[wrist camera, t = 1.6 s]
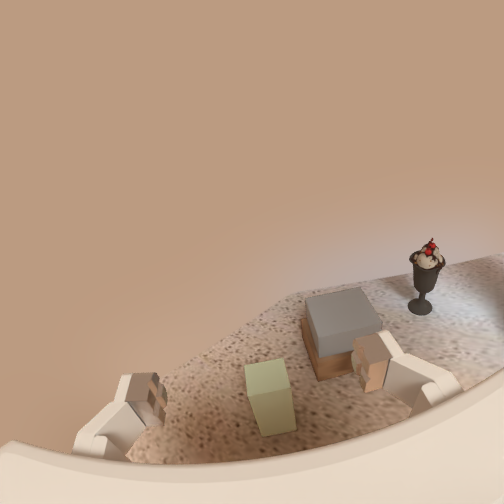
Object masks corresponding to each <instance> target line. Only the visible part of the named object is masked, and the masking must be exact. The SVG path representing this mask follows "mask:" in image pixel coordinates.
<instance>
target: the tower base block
mask: <svg viewBox="0 0 504 504" xmlns="http://www.w3.org/2000/svg"><path fill="white" fill-rule="evenodd" d="M301 326H302V336H303V340H304V343H305V346H306V349H307V351H308V354H309V357H310V360H311V363H312V366H313V368H314V371H315V374H316V377H317V380H318V382H319V381H323V380H326V379H330V378H334V377H337V376H341V375H344V374H348V373H351V372H354V369H353V366H352V360H351V356H352V352H353V351H354V350H352V351H348V352H344V353H339V354H335V355H331V356H326V357H322V358H319V356H318V353H317V350H316V346H315V343H314V340H313V337H312V333H311V330H310V327H309V324H308V321H307V318H304V319H301Z"/></svg>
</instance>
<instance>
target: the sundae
mask: <svg viewBox="0 0 504 504" xmlns="http://www.w3.org/2000/svg"><path fill="white" fill-rule="evenodd" d="M431 241H433V238H432V239H431ZM431 241H429V243H428V244H426V245H424V246H423V247H422V249H421V251H416V252H414V253H413V254H412V255H411V256H410V258H409V260H410V262H411V263H413V270H414V271H413V280H414V287H415V288H416V290H417V291H418V292H420V294H419V298H417V299H413V300H411V301H410V302H409V304H408V308H409V310H410V311H411V312H412V313H414V314H417V315H426V314H428V313H430V312H431V311H432V305H431V303H430V302H429V301H427V300H425V295H426V293H428V292H430V291H432V290H433V289H434V286H435V284H436V281H437V278H438V274H439V272H440V270H441V269H442V267H444V266H445V259H444V257H443V256H442V255H440V254H439V248H438V247H437V246H436V245H435V243H432V242H431Z"/></svg>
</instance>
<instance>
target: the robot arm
mask: <svg viewBox="0 0 504 504" xmlns="http://www.w3.org/2000/svg"><path fill="white" fill-rule="evenodd" d="M352 346H353V348H354V351H353V352H352V356H351V360H352V366H353V369H354V372H355V374H356V375H358V376H360V379H359V383H360V385H361V387H362V389H363V391H364V393H367V392H370V391H373V390H377V389H380V388H383V389H384V390H386V391H387V392H389V393H390V394H392V395H393V396H395V397H396V398H398V399H399V400H401V401H402V402H404V403H405V404H407V405H408V406H410V407H411V408H413V409H412V411H411V413H410V415H409V418H408V419H405V420H403V421H400V422H398V423H395V424H392V425H390V426H387V427H384V428H382V429H379V430H376V431H373V432H370V433H367V434H364V435H361V436H358V437H354V438H351V439H348V440H344V441H341V442H337V443H333V444H330V445H326V446H322V447H317V448H313V449H309V450H304V451H299V452H294V453H289V454H284V455H278V456H272V457H266V458H259V459H251V460H243V461H233V462H221V463H204V464H150V463H134V462H132V461H131V460H130V459H128V458H127V457H126V456H125V455H126V454H127V452H128V451H129V450H130V448H131V447H132V446H133V444H134V443H135V442H136V440H137V439H138V438H139V436H140V435H141V434H142V432H143V431H144V430H145V428H146V426H164V423H165V415H166V413H165V412H164V410H163V409H164V408H165V407H166V406H167V392H166V389H165V387H164V385H163V384H161V383H159V379H160V378H159V376H158V375H157V373H132V374H131V373H129V374H123V375H122V376H121V379H120V382H119V385H118V388H117V392H116V395H115V398H114V402H110V403H109V404H108V405H107V406H106V407H105V408H104V409H103V410H101V411H100V412H99V413H98V414H97V415H96V416H95V417H94V418H93V419H92V420H91V421H90V422H88V423H87V424H86V425H85V426H84V427H83V428H82V429H81V430H80V431H79V432H78V433H77V437H76V440H75V443H74V446H73V450H72V453H71V454H68V453H64V452H59V451H54V450H50V449H46V448H42V447H38V446H34V445H31V444H28V443H24V442H21V441H18V440H11V441H10V442H8V443H6V444H5V445H3V446H2V447H1V448H0V504H504V367H503V368H502V369H500V370H499V371H497V372H496V373H494V374H493V375H491V376H490V377H488V378H486V379H485V380H483V381H481V382H480V383H478V384H476V385H475V386H473V387H471V388H469V389H468V390H466V391H464V390H463V389H462V387H461V386H460V384H459V383H458V381H457V380H456V379H455V377H454V376H453V374H452V373H451V372H450V371H447V370H445V369H443V368H440V367H438V366H436V365H434V364H431V363H429V362H427V361H424V360H422V359H420V358H418V357H415V356H413V355H411V354H409V353H406V354H404V352H403V351H402V349H401V348H400V346H399V345H398V344H397V342H396V341H395V339H394V338H393V336H392V335H391V333H390V332H389V331H388V330H383V331H380V332H376V333H373V334H370V335H366V336H363V337H359V338H356V339H354V340H353V344H352Z"/></svg>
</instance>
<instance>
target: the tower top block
mask: <svg viewBox="0 0 504 504" xmlns="http://www.w3.org/2000/svg"><path fill="white" fill-rule="evenodd" d="M305 304H306V316H307V321H308V324H309V327H310V330H311V333H312V337H313V340H314V343H315V346H316V350H317V353H318V356H319V358H322V357H326V356H331V355H335V354H339V353H344V352H348V351H352V350H354V348H353V346H352V344H353V340H354V339H356V338H359V337H363V336H366V335H370V334H373V333H376V332H380V331H381V329H382V321H381V319H380V318H379V316H378V315H377V313H376V311H375V310H374V308H373V306H372V305H371V303H370V302H369V300H368V298H367V297H366V295H365V294H364V292H363V291H362V289H361V287H357V288H352V289H348V290H343V291H338V292H333V293H329V294H324V295H319V296H314V297H309V298H305Z"/></svg>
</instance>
